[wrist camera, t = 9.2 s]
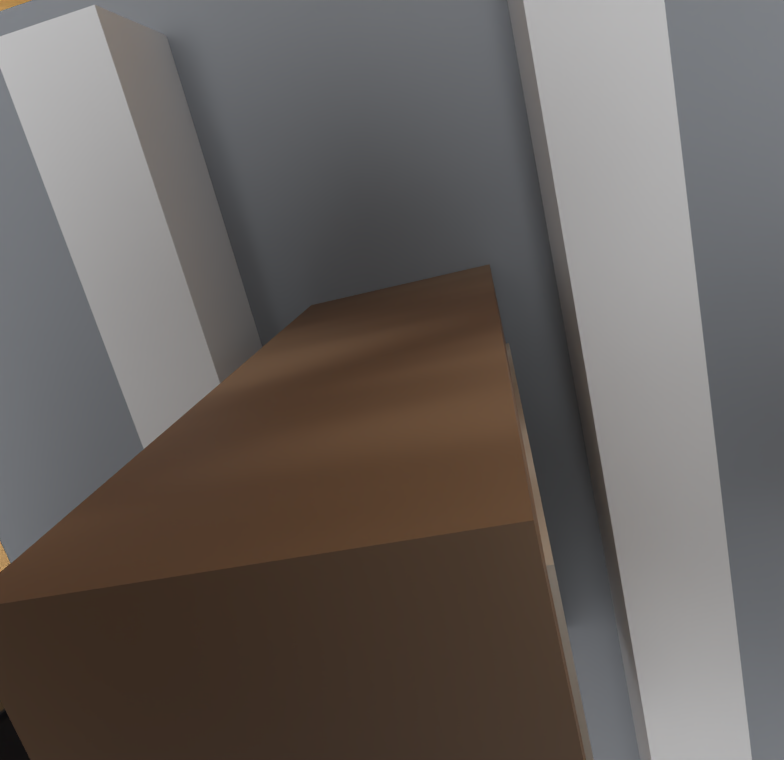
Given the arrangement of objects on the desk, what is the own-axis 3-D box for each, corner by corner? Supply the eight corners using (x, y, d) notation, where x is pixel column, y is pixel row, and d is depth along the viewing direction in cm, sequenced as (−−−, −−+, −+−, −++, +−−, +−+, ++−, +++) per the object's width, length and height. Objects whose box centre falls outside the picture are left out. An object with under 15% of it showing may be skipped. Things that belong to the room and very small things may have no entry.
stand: (949, -265, 9) (1222, -513, 6) (955, 757, 14) (1106, 941, 11) (-132, 93, 12) (-355, 65, 9) (182, 819, 17) (113, 975, 14)
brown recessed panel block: (493, 263, 10) (545, 519, 3) (566, 630, 12) (716, 1362, 5) (307, 306, 11) (-52, 612, 3) (406, 650, 13) (314, 1336, 5)
